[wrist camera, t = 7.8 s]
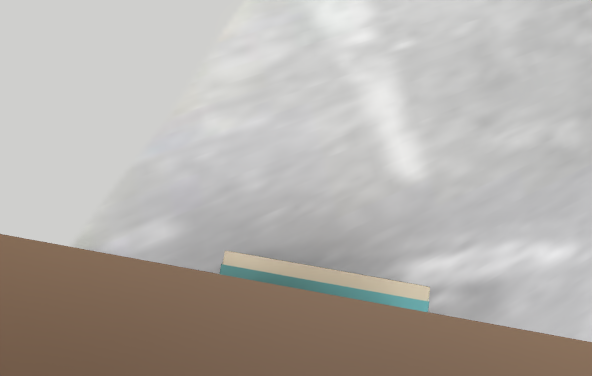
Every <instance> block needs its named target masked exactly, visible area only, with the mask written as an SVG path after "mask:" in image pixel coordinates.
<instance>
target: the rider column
mask: <svg viewBox="0 0 592 376" xmlns="http://www.w3.org/2000/svg"><path fill="white" fill-rule="evenodd" d="M0 376H592V342H587V341H581V340H576V339H571V338H565V337H560V336H554V335H549V334H543V333H538V332H532V331H527V330H521V329H516V328H510V327H505V326H500V325H494V324H489V323H483V322H478V321H472V320H467V319H461V318H456V317H450V316H445V315H439V314H434V313H429V312H423V311H418V310H412V309H407V308H401V307H396V306H390V305H385V304H379V303H374V302H368V301H363V300H357V299H352V298H347V297H341V296H336V295H330V294H325V293H319V292H314V291H308V290H303V289H297V288H292V287H286V286H281V285H276V284H270V283H265V282H259V281H254V280H248V279H243V278H237V277H232V276H226V275H221V274H215V273H210V272H205V271H199V270H194V269H188V268H183V267H177V266H172V265H166V264H161V263H155V262H150V261H144V260H139V259H133V258H128V257H123V256H117V255H112V254H106V253H101V252H95V251H90V250H84V249H79V248H73V247H68V246H62V245H57V244H52V243H46V242H40V241H35V240H29V239H24V238H19V237H13V236H8V235H2V234H0Z"/></svg>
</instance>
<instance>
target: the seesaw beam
mask: <svg viewBox="0 0 592 376" xmlns="http://www.w3.org/2000/svg"><path fill="white" fill-rule="evenodd" d="M220 274H221V275H226V276H232V277H237V278H243V279H248V280H254V281H259V282H265V283H270V284H276V285H281V286H286V287H292V288H297V289H303V290H308V291H314V292H319V293H325V294H330V295H336V296H341V297H347V298H352V299H357V300H363V301H368V302H374V303H379V304H385V305H390V306H396V307H401V308H407V309H412V310H418V311H423V312H428V307H429V301H428V299H429V292H430V287H427V286H422V285H417V284H411V283H406V282H400V281H394V280H389V279H383V278H378V277H372V276H366V275H361V274H355V273H349V272H344V271H338V270H333V269H327V268H321V267H316V266H310V265H304V264H299V263H293V262H288V261H282V260H276V259H271V258H265V257H260V256H254V255H248V254H243V253H237V252H230V251H225V254H224V259H223V264H221V269H220Z"/></svg>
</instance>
